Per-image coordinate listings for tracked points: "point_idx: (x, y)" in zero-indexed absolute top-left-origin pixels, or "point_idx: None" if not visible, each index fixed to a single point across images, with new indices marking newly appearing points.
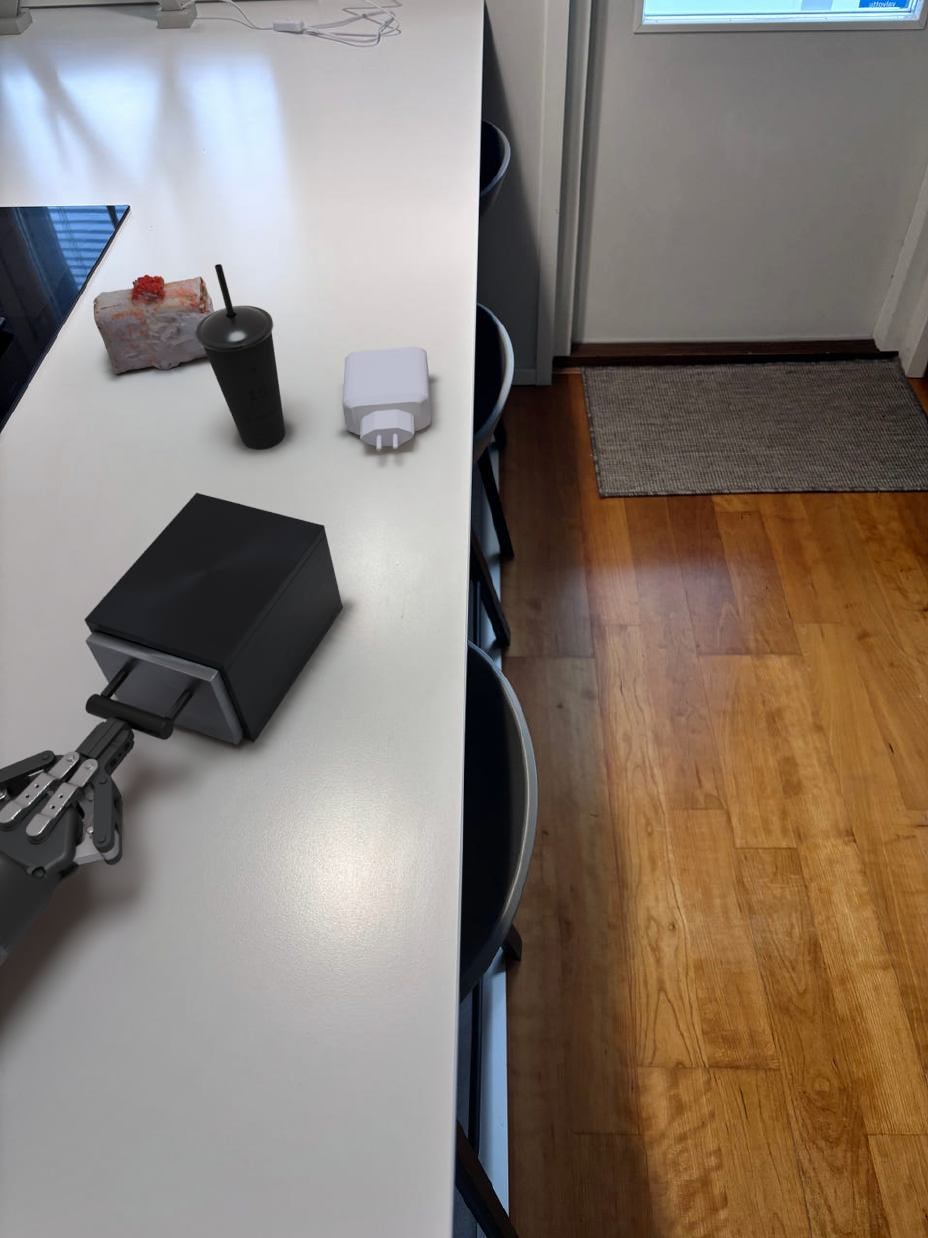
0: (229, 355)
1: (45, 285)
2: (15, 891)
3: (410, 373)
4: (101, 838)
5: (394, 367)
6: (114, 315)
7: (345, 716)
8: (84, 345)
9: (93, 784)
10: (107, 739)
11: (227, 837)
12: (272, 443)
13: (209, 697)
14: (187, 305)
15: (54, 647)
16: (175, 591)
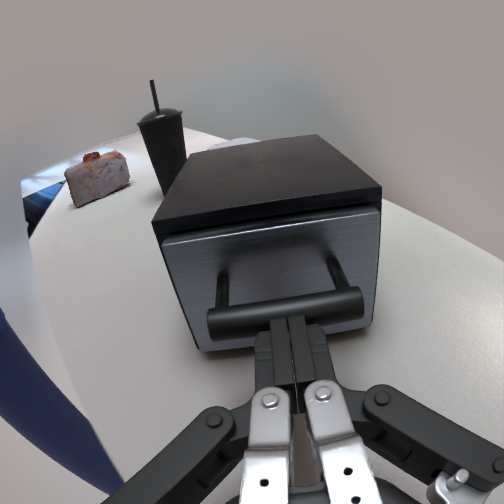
0: (162, 124)
1: (37, 204)
2: None
3: (251, 140)
4: (501, 463)
5: (240, 141)
6: (76, 170)
7: (413, 270)
8: (58, 208)
9: (357, 419)
10: (304, 343)
11: (447, 403)
12: None
13: (365, 252)
14: (112, 156)
15: (95, 334)
16: (242, 176)
